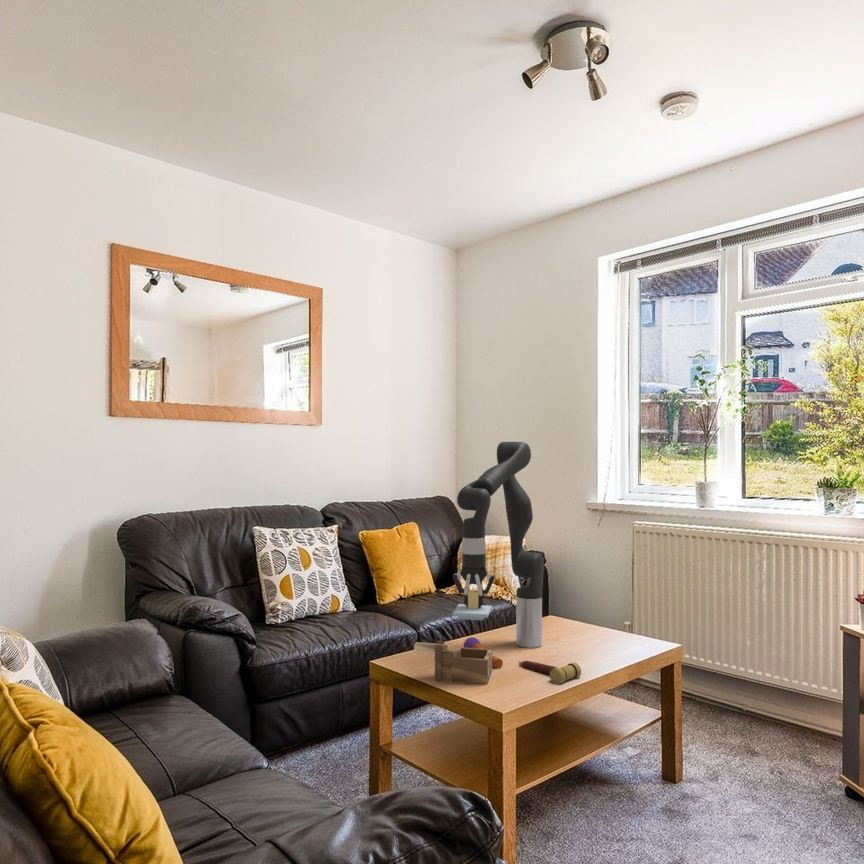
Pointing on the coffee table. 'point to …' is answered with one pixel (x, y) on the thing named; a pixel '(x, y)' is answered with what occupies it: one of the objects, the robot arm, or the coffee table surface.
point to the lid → (472, 608)
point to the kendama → (475, 643)
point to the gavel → (555, 670)
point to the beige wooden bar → (429, 646)
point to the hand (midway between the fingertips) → (473, 606)
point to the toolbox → (463, 664)
